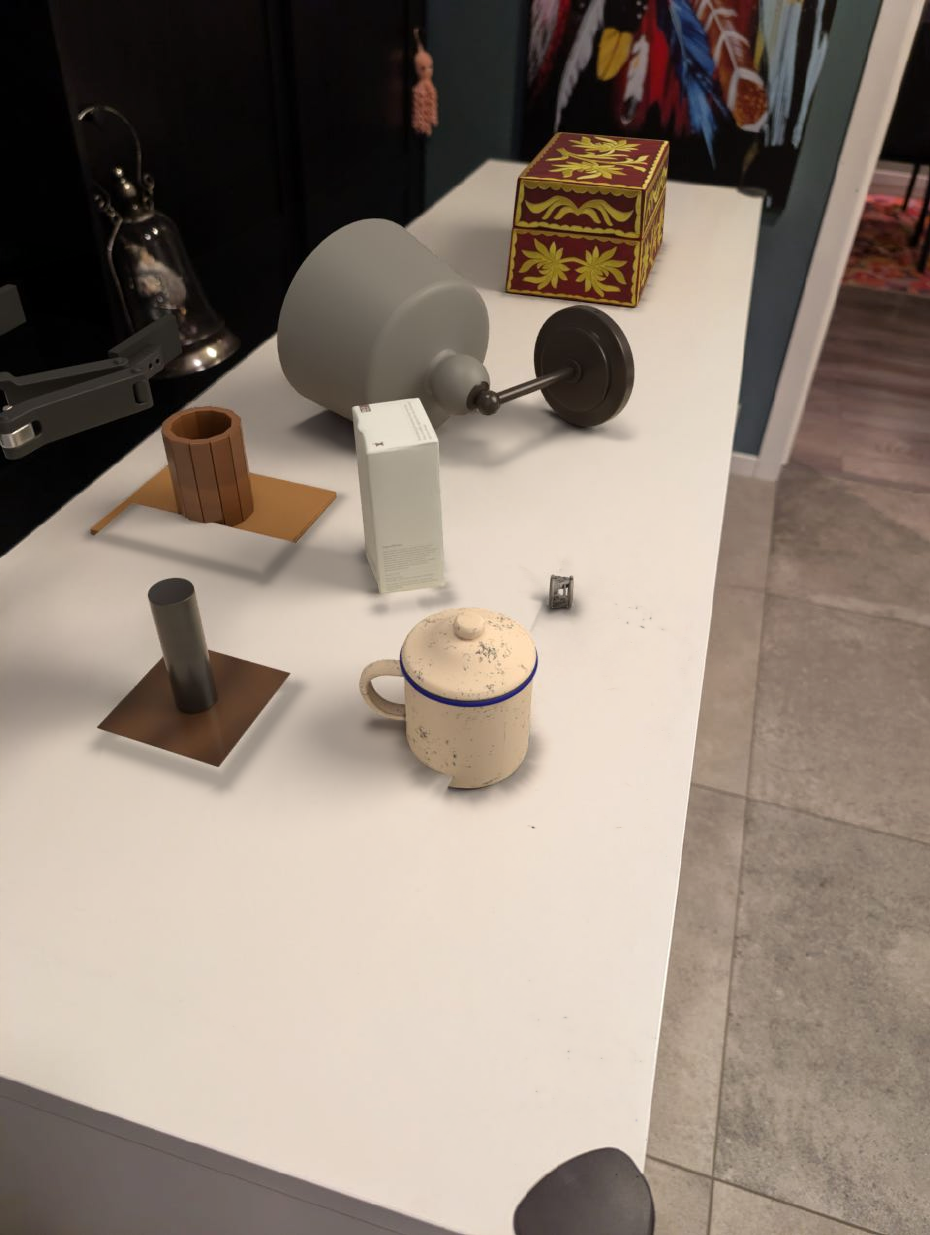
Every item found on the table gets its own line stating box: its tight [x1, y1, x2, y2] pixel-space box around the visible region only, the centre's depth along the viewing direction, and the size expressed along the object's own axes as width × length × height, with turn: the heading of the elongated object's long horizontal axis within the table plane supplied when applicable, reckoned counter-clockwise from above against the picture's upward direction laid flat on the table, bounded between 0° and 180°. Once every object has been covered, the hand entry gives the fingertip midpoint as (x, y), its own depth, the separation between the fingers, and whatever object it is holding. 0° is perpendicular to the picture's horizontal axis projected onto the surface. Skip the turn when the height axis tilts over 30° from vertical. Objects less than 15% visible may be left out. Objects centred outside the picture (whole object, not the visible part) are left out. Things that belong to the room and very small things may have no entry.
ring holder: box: [96, 577, 291, 768], centre depth 67 cm, size 10×10×12 cm
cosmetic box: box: [352, 398, 446, 595], centre depth 79 cm, size 8×6×15 cm
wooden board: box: [89, 464, 337, 543], centre depth 90 cm, size 18×14×1 cm
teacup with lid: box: [358, 606, 539, 789], centre depth 65 cm, size 12×9×12 cm
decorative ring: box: [548, 574, 575, 610], centre depth 80 cm, size 3×2×3 cm
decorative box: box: [504, 131, 670, 308], centre depth 137 cm, size 28×19×15 cm
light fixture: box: [276, 217, 636, 430], centre depth 98 cm, size 20×25×27 cm
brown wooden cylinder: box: [160, 405, 254, 528], centre depth 87 cm, size 7×7×9 cm
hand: (94, 317), depth 69 cm, fingers open, 13 cm apart
